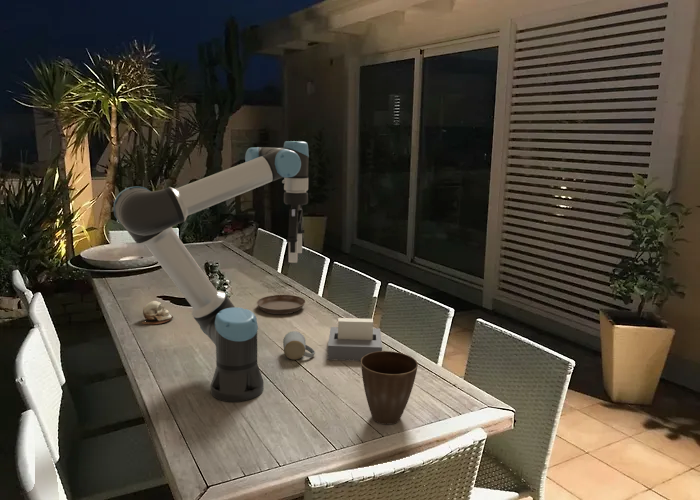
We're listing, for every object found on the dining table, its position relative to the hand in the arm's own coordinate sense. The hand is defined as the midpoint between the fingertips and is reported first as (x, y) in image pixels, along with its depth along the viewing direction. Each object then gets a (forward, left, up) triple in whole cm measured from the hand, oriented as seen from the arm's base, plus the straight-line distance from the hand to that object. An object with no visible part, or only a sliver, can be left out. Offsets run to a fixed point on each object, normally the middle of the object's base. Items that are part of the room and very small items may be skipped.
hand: (295, 257), depth 177 cm
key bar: (+9, -20, -34) cm, 40 cm away
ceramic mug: (+3, -1, -35) cm, 35 cm away
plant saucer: (+53, +12, -35) cm, 65 cm away
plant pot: (-37, -29, -35) cm, 59 cm away
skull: (+33, +58, -35) cm, 76 cm away
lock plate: (+9, -20, -35) cm, 41 cm away
